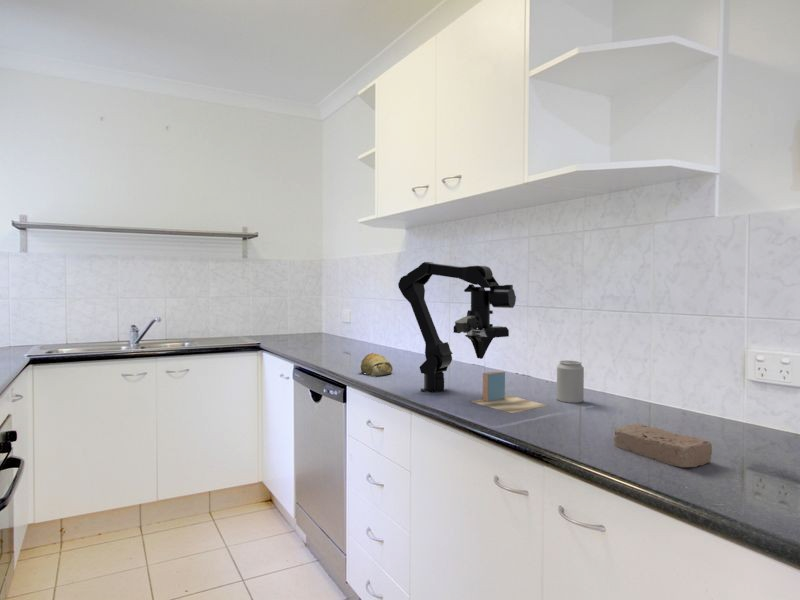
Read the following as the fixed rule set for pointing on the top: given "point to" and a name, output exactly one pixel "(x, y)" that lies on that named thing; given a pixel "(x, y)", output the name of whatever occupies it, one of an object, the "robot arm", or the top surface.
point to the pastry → (376, 365)
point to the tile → (493, 386)
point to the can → (570, 381)
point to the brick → (663, 445)
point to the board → (510, 404)
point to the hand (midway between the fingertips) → (480, 358)
